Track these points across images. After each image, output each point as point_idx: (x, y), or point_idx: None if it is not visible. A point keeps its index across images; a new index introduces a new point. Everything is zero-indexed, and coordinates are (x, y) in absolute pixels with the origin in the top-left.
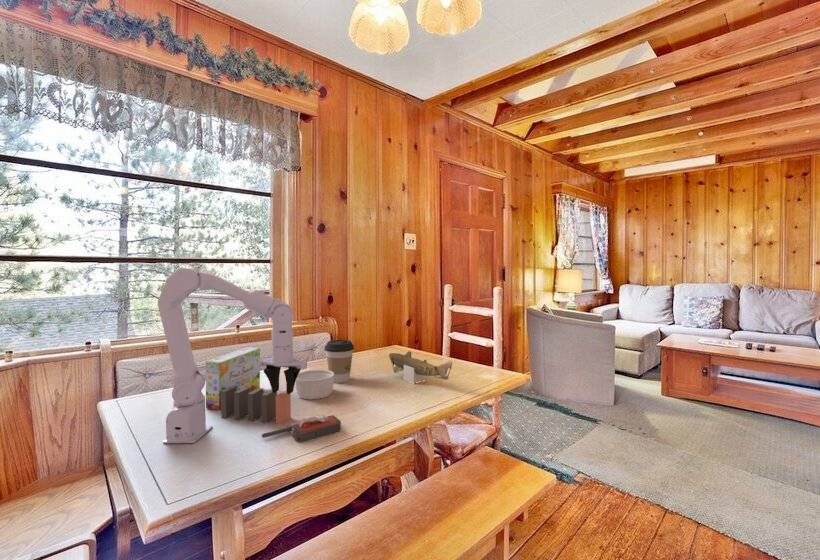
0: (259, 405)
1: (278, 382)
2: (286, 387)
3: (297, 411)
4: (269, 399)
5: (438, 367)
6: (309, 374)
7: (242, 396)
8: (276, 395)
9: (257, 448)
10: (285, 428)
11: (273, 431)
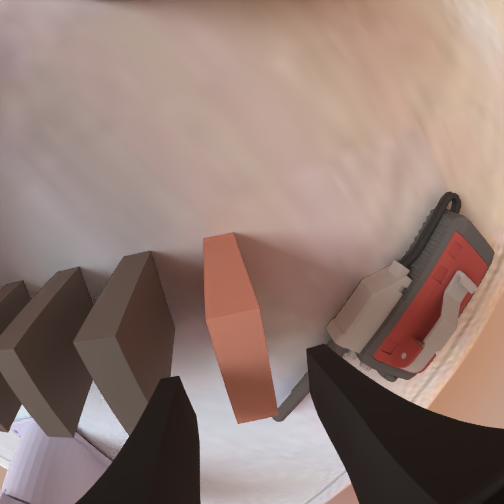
0: (69, 328)
1: (171, 429)
2: (330, 439)
3: (205, 145)
4: (156, 382)
5: None
6: None
7: (3, 391)
8: (126, 312)
9: (298, 433)
10: None
11: (301, 398)
